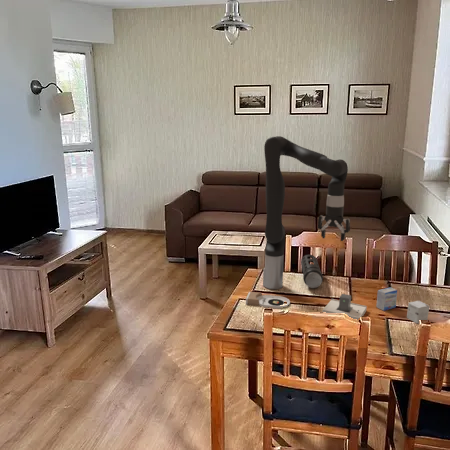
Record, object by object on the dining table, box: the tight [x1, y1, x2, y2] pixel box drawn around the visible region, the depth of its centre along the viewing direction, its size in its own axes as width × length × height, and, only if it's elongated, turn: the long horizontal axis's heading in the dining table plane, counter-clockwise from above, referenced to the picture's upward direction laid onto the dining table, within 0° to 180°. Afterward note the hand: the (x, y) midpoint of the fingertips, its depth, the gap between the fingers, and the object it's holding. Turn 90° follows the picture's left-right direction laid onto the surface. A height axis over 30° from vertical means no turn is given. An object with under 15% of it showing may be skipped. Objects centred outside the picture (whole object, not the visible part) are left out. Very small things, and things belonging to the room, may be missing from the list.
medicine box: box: [376, 286, 398, 312], centre depth 204 cm, size 8×4×9 cm, turn 117°
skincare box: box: [406, 300, 430, 324], centre depth 193 cm, size 6×6×7 cm
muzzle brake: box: [300, 254, 324, 289], centre depth 237 cm, size 10×28×10 cm, turn 174°
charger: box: [339, 293, 352, 313], centre depth 199 cm, size 4×4×8 cm
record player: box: [245, 291, 291, 309], centre depth 211 cm, size 12×3×20 cm
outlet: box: [321, 298, 368, 320], centre depth 200 cm, size 16×14×2 cm
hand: (332, 239), depth 206 cm, fingers open, 8 cm apart
